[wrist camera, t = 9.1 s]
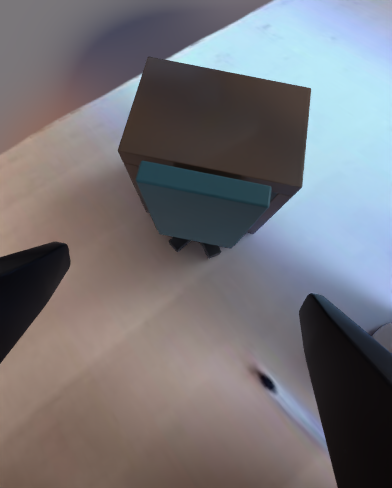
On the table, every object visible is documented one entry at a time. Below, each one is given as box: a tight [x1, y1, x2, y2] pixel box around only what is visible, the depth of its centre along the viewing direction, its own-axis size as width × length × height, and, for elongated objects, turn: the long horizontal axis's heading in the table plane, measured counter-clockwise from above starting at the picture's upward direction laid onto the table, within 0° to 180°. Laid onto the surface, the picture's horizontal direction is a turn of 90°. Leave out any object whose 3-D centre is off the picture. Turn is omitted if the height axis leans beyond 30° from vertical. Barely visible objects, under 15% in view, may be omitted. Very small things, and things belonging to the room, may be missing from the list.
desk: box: [118, 57, 311, 234], centre depth 15 cm, size 6×9×8 cm, turn 79°
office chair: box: [136, 161, 272, 259], centre depth 13 cm, size 5×6×11 cm
